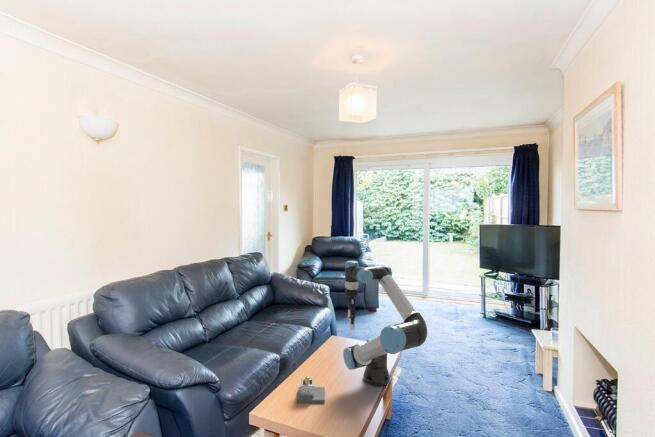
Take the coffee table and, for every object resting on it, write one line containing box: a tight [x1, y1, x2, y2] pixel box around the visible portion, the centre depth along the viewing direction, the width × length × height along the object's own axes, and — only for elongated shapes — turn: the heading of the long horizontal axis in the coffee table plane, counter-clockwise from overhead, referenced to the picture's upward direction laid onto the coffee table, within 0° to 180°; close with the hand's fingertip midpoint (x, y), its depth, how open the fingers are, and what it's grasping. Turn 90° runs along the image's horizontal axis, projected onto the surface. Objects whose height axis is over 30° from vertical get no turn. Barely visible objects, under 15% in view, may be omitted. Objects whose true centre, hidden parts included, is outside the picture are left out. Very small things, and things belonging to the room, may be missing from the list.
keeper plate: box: [296, 386, 326, 404], centre depth 179 cm, size 14×12×2 cm
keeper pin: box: [304, 376, 311, 385], centre depth 178 cm, size 3×3×9 cm
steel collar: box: [299, 378, 315, 397], centre depth 178 cm, size 7×7×6 cm
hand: (351, 325), depth 194 cm, fingers open, 13 cm apart
